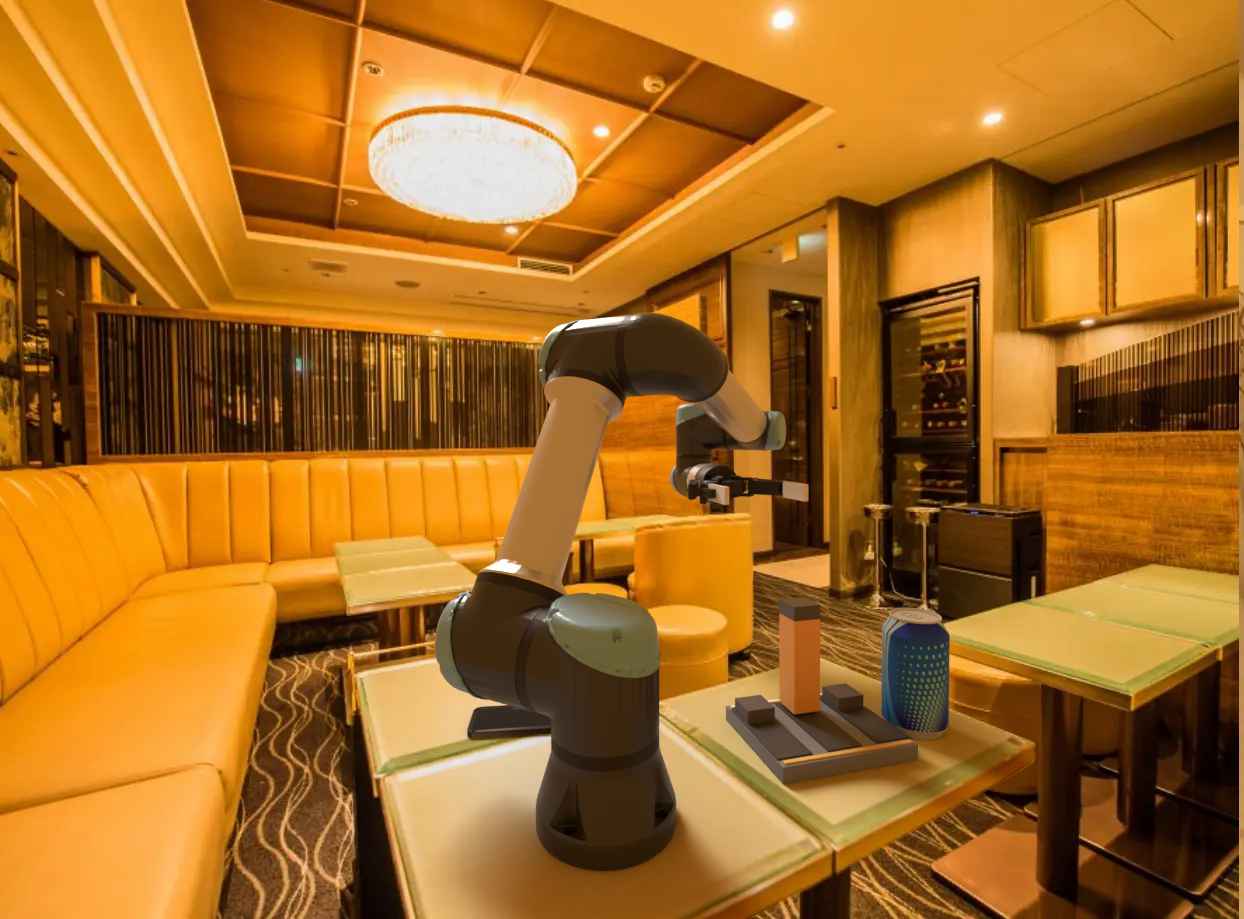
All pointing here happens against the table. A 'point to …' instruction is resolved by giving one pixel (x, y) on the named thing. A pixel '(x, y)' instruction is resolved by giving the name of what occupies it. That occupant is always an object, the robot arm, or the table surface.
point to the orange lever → (799, 655)
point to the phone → (506, 722)
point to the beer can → (915, 672)
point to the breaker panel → (819, 735)
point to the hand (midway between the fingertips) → (767, 494)
